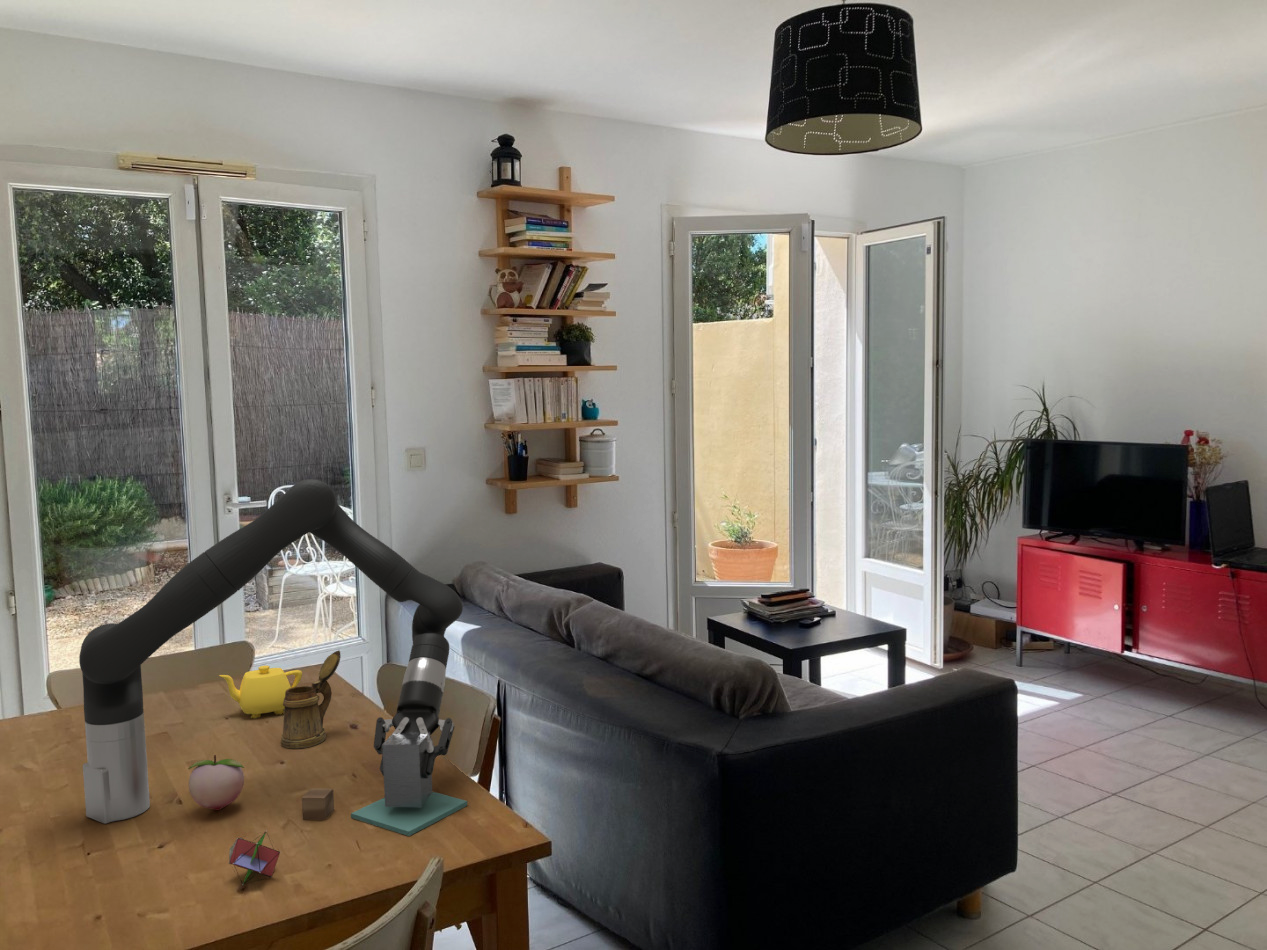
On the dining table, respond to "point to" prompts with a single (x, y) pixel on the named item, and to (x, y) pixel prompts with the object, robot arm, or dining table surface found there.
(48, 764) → the dining table surface
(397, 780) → the block
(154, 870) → the dining table surface
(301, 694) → the wooden mug
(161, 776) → the dining table surface
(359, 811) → the teal mat
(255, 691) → the teapot
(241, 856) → the geometric puzzle
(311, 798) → the walnut block
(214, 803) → the decorative fruit
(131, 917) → the dining table surface
